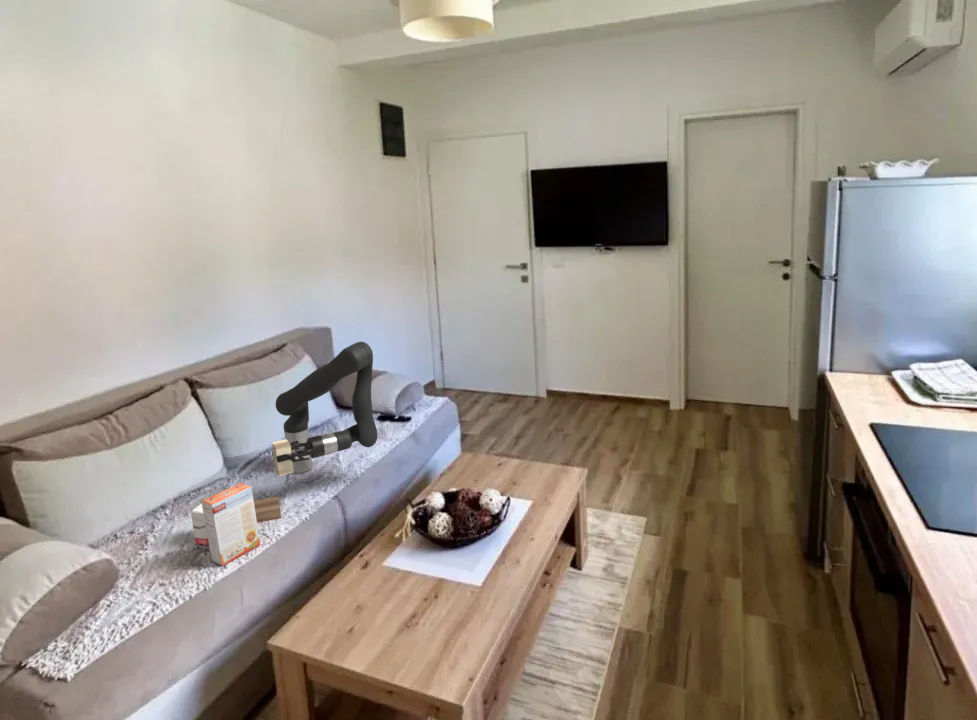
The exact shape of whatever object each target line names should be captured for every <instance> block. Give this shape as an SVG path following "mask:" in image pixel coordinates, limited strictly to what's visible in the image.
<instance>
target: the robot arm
mask: <svg viewBox="0 0 977 720" xmlns="http://www.w3.org/2000/svg"><path fill="white" fill-rule="evenodd" d="M373 365H374V354H373V349H372V347H371V346H370V345H369V344H368V343H366V342H365V341H357V342H355V343H353V344H351V345H349V346H347V347H346V348H343V349H342V350H341V351H340V352H339V353H338V354H337V355H336V356H335V357H334V358H333V359H332V360H331V361H329V362H328V363H325V364H323V365H322V366H319V367H317V368H316V369H315V370H313V371H312V372H311V373H310V374H308V375H307V376H306V377H305V378H303V379H302V380H301V381H300V382H299V383H298V384H296V385H295V386H294V387H292V388H290V389H288V390H287V391H284V392H282V393H280V394H279V395H278V396H277V397H276V400H275V409H276V411H277V412H278V413H279V414H280V415H282V416H289V417H288V418H287V419H286V420H285V421H284V423H283V434H284V439H287V441H288V442H289V443H290V446H291V453H288V455H287V454H283V455H279V456H277V457H276V459H277V462H283V461H287V460H289V461H291V460H292V462H293V470H294V473H293V474H303V473H306V472H305V471H307V472H309V471H310V469H311V468H313V461H312V460H313V459H315V458H319V457H324V456H328V455H331V454H334V453H337V452H341V451H345V450H349V449H350V448H351V447H352V446H353V443H355V442H358V443H359V444H360V445H361V446H363V447H365V448H372V447H373V446H375V444H376V443H377V440H378V429H377V426H376V425H377V424H376V422H375V419H374V414H373V412H374V411H373V410H374V409H373V400H372V379H373ZM355 373H356V382H355V385H354V390H353V394H352V399H351V401H352V404H351V405H352V413H353V419H354V421H355V422H356V424H354V425H351V426H349V427H348V428H345V429H344V430H338V431H336V432H330V433H323V434H320V435H314V436H310V433H309V432H310V431H309V421H310V413H309V411H310V410H309V407H310V406H309V402H311V401H313V400H316V399H318V398H319V397H322V396H324V395H326V394H327V393H328V392H330V391H331V390H332V389H334V388H335V387H336V386H337V385H338V384H339V382H340V381H341V380H342V379H344V378H346V377H348V376H351V375H352V374H355ZM271 453H272V454H271V455H272V457H273V458H274V455H273V450H272V451H271ZM308 470H309V471H308ZM311 470H312V469H311ZM302 472H303V473H302Z"/></svg>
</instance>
